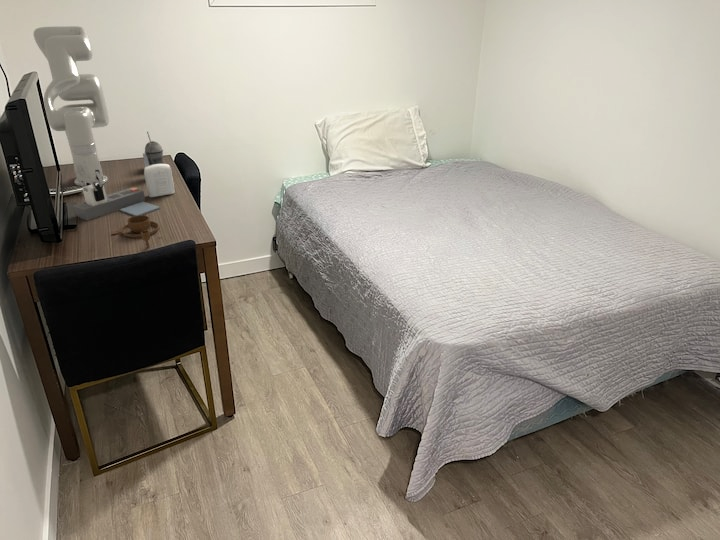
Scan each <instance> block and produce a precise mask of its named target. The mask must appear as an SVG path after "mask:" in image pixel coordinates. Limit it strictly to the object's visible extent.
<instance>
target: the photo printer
mask: <svg viewBox="0 0 720 540" xmlns="http://www.w3.org/2000/svg"><path fill="white" fill-rule="evenodd" d="M143 175H144V179H145V186H146V191H147V196H148V197H149V198H155V197H162V196H166V195H173V194H176V193H175V192H176V191H175V184H174V179H173V172H172V167H171V166H170V165H169V164H167V163H163V164H154V165H150V166H148V167H146V168H145V167H144V169H143Z"/></svg>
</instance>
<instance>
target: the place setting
mask: <svg viewBox="0 0 720 540" xmlns="http://www.w3.org/2000/svg"><path fill="white" fill-rule="evenodd" d="M126 222H127V224H125V225H123V226H120V228H118V229H116V230H114V231H113V232H111V234H112V235H114V236H115V235H117V234H119V233H120V231H121V234H122V235H123V236H124V237H126V238H130V239H132V238H133V239H134V238H135V239H139V238H141V239H142V240H143V241H145V246H146V247H145V248H146V249H150V248H151V246H150V243H149V240H150V238H151V236H152V235H153V234H154V235H155V234H156V233H157V232H158V231H159V228H160V226H159V225H160V224H159V223H158V222H156V221H152V220H150V217H149V216H148V215H146V214H144V215H139V216H133V215H132V216H131V217H128V219H127V221H126ZM151 225H152V227H154V226H155V227H154V228H155V229H153V230H151V231H149V230H148V229H150V227H151ZM128 230H130V231H131V232H134V233H136V234H131V233H130V234H129V233H125V232H127V231H128ZM157 238H158V239H162V237H160V236H159V237H157Z"/></svg>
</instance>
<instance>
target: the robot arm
mask: <svg viewBox="0 0 720 540" xmlns="http://www.w3.org/2000/svg"><path fill="white" fill-rule="evenodd" d="M33 37H34V41H35V43H36V45H37V47H38V49H39V50H40V51H41V53H42V54H43V55H44V57H45V59H46V60H47V62H48V66H49V70H50V75H51V77H52V81H50V83H49V85H48V86H47V87H46V89H45V92H44V95H43V105H44V109H45V114H46V119H47V122H48V125H49V126H50V128H51V129H52V130H53V131H56V132H64V133H65V135H66V138H67V139H66V140H67V143H68V146H69V149H70V150H69V151H70V154H71V156H72V157H71V158H72V163H73V168H74V174H75V177H76V179H74V184H75V185H76V186H79V187H84V186H88V185H91V184H92V185H93V188H94V190H95V191H93V192H94V196H95V200H96V201H97V202H98V201H101V200H104V199H105V198H104V193H103V185H104V186H105V183H106V182H107V181H108V176H107V175H104V174H103V169H102V166H101V163H100V158H99V153H98V150H97V145H96V140H95V139H94V134H93V130H92V129H95V128H96V129H97V128H104V127H108V125H109V122H110V118H109V113H108V110H107V109H108V108H107V105H106V100H105V99H106V98H105V96H104V91H103V87H102V83H101V81H100V79H99V77H98V76H96V75H95V74H91V73H83V74H79V69H78V67H77V66H78V65H77V63H76V62H83V61H92V59H93V48H92V44H91V41H90V38H89V36H88V32H87V31H86V29H85V28H83V27H82V26H72V25H71V26H44V27H43V26H42V27H38V28H35V29H34V30H33ZM58 97H59V98H60V100H62V101H64V102H65V101H66V102H71V101H72V102H73V101H75V102H77V101H91V102H89V103H88V102H87V103H75V104H66V105H63V106H61V107H57V108H55V106H54V102H55V100H56V99H57V98H58ZM95 183H98V184H97V185H95Z"/></svg>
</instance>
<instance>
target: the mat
mask: <svg viewBox="0 0 720 540" xmlns="http://www.w3.org/2000/svg"><path fill="white" fill-rule="evenodd" d="M157 209H158V210H161V206H158V205H156V204H155V205H154V204H152V203H148V202H145V201H143V202H140V203H137V204H134V205H131V206H128V207H125V208H122V209H120V210H119V212H122V213H125V214H126V215H129V216H132V217H133V216H139V215H143V214H144V215H146V213H147V214H149V213H151V212H152V213H153V212H155V211H158V210H157ZM154 210H155V211H154Z"/></svg>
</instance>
